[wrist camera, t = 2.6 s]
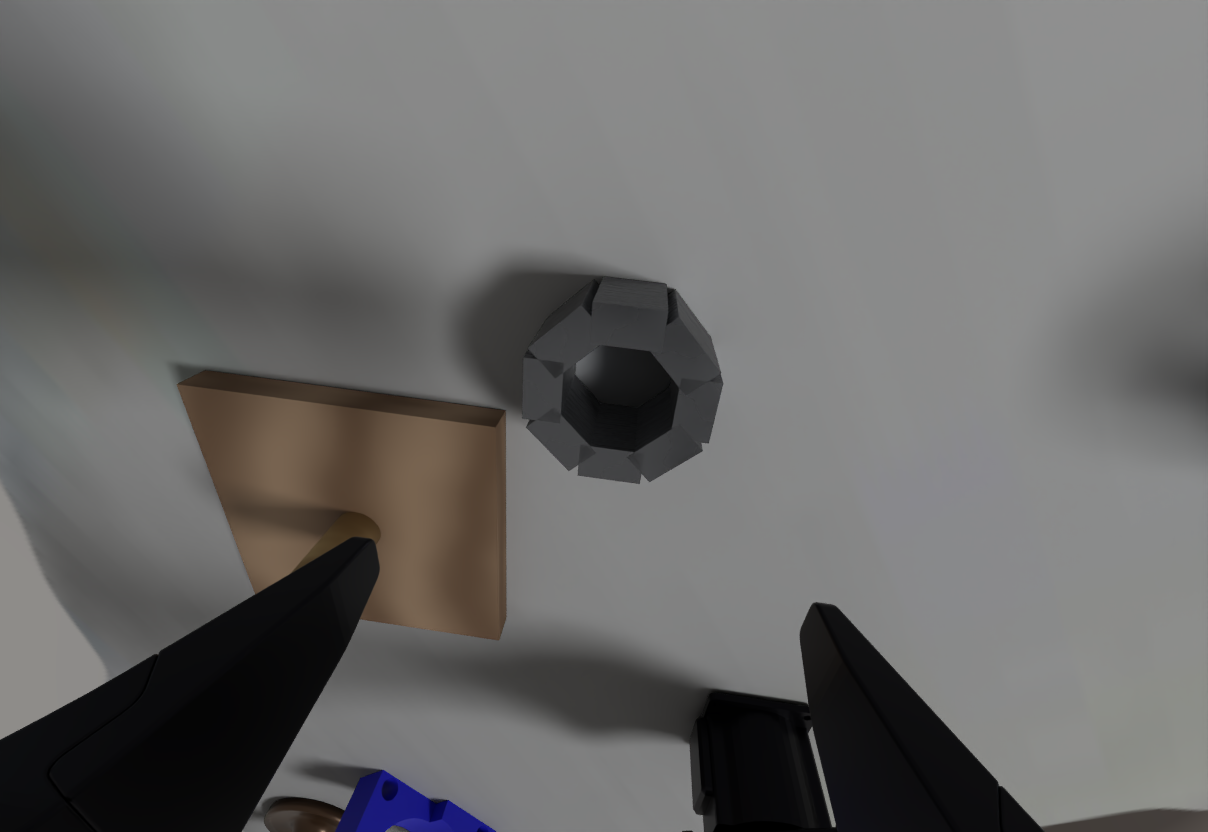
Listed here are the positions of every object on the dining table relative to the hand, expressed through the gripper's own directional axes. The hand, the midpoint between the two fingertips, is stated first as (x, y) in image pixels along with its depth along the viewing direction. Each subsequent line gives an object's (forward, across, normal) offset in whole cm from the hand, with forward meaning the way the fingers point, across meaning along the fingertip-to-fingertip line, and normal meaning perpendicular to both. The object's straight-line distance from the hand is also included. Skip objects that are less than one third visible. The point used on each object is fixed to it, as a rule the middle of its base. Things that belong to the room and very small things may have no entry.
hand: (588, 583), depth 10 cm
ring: (+12, 0, 0) cm, 12 cm away
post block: (+12, +12, +10) cm, 19 cm away
